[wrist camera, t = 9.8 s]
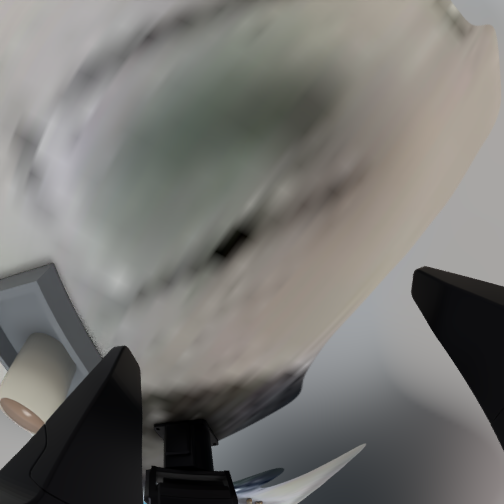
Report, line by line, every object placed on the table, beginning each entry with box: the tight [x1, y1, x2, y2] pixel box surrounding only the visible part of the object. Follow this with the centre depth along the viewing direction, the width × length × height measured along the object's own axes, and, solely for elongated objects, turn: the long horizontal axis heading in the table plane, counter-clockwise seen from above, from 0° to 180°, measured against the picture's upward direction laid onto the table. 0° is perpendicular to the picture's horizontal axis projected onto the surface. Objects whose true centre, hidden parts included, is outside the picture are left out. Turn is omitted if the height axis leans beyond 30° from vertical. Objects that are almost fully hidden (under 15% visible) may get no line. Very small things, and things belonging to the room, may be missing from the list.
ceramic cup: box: [0, 333, 76, 434], centre depth 17 cm, size 6×6×8 cm
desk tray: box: [0, 264, 102, 398], centre depth 20 cm, size 18×12×3 cm, turn 10°
